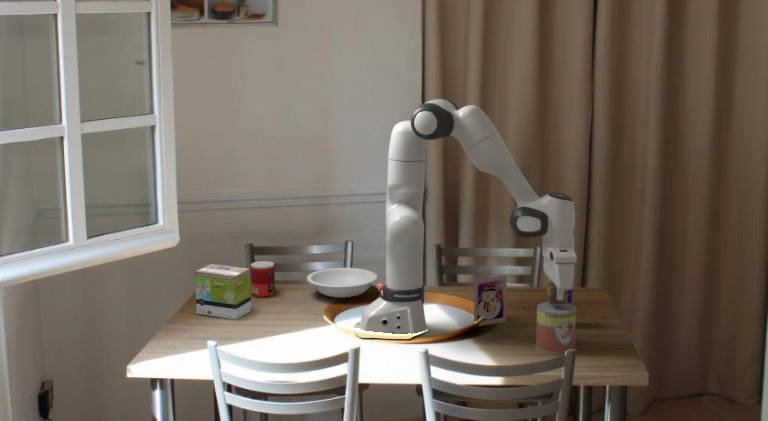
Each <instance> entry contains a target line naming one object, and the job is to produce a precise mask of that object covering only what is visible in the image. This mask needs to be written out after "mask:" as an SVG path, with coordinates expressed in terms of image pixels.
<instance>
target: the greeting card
mask: <svg viewBox="0 0 768 421" xmlns="http://www.w3.org/2000/svg"><path fill="white" fill-rule="evenodd" d="M507 287H508V286H507V274H505V275H504V274H503V275H499V276H491V271H490V270H489V271H488V272H485V273H484V274H482V275H480V276H479V277H477V278H475V279H474V288H473V289H474V295H473V296H474V298H473V299H474V300H473V302H474V303H473V304H474V305H473V310H474V312H473V314H474V315H473V323H474V322H475V321H477V320H478V319H479V318H481V317H482V316H484V318H483V320H482V322H481V323H480V324H479V326H478V327H482V326H486V325H494V324H499V323H505V322H507Z"/></svg>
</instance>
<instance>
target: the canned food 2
mask: <svg viewBox="0 0 768 421" xmlns="http://www.w3.org/2000/svg"><path fill="white" fill-rule="evenodd" d="M576 320H577V306H576V305H574V304H573V303H572V304H570V303H567V304H556V305H550V304H549V303H548V301H544V302H540V303H537V305H536V330H535V332H536V335H535V336H536V337H535V340H536V341H535V348H537V350H539V351H541V352H543V353H544V352H545V353H549V354H550V353H551V354H565V353H564V352H565V351H566V350H568V349H573V348H575V349H576V325H577V323H576V322H577V321H576Z"/></svg>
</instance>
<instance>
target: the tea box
mask: <svg viewBox="0 0 768 421" xmlns="http://www.w3.org/2000/svg"><path fill="white" fill-rule="evenodd" d="M194 277H195V278H194V280H195V282H194V284H195V304H196V305H195V306H196V307H195V308H196V314H197V315H204V316H211V317H218V318H224V319H230V320H233V321H234V320H235V321H236V320H238V319H240V318H242V317H243V316H245V315H247V314H248V313H250V312H251V311H252V296H251V295H252V289H251V268H247V267H246V268H245V267H238V266H231V265H222V264H213V263H210V264H208V265H206V266H203V267H202V268H200V269H198V270H197V269H196V270H195V271H194Z"/></svg>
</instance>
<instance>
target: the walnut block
mask: <svg viewBox="0 0 768 421" xmlns="http://www.w3.org/2000/svg"><path fill="white" fill-rule="evenodd" d="M545 285H546V286H545V287H546V290H545V291H546V293H545V301H546V302H548V303H549V304H550V305H556V304H567V301H568V290H565V291H564V294H563V300H557V299H556V293H557V286H556V285H555V284H554V283H550V282H546V284H545Z"/></svg>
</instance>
